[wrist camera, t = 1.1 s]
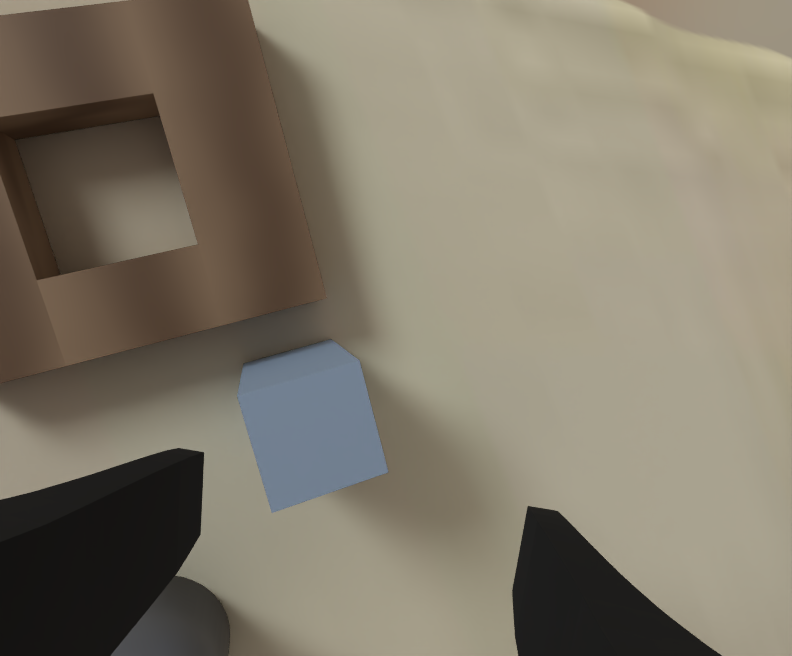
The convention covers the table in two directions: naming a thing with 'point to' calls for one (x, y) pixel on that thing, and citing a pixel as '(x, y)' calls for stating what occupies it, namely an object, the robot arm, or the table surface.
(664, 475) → the table surface
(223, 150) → the socket block
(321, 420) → the square peg
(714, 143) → the table surface
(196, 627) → the round peg
